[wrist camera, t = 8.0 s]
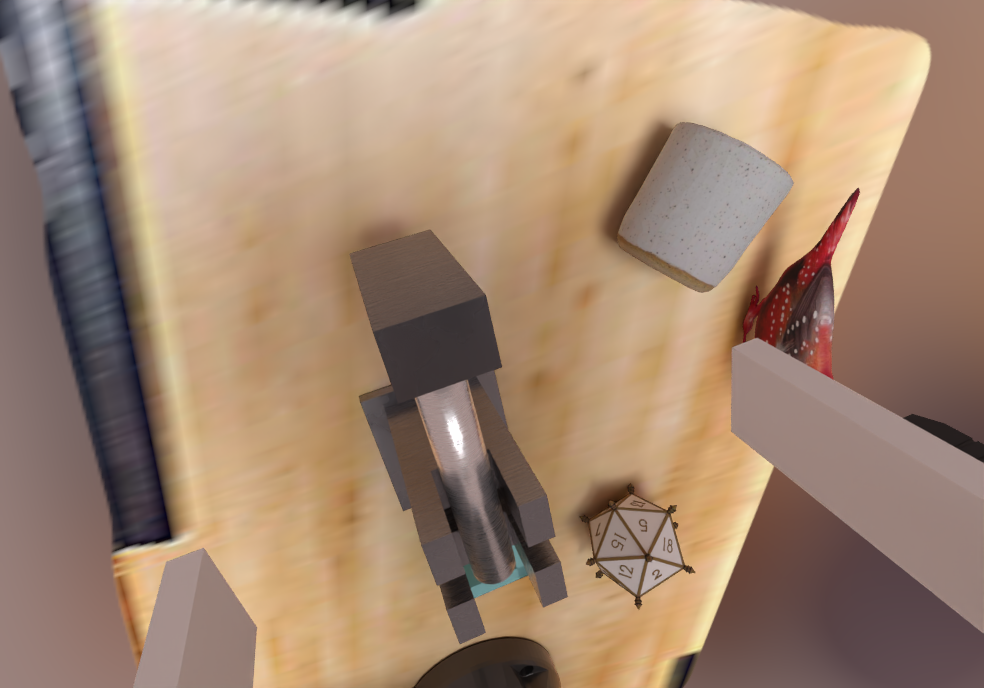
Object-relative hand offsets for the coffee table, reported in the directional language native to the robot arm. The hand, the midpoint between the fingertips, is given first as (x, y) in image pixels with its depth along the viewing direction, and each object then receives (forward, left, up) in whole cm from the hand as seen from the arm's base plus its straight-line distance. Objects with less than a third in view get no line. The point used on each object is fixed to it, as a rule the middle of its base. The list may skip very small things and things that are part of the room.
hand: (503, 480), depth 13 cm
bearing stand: (-15, 0, -22) cm, 26 cm away
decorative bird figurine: (-12, -26, -22) cm, 36 cm away
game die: (-29, -12, -22) cm, 39 cm away
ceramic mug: (-4, -20, -22) cm, 30 cm away
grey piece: (-8, 0, -16) cm, 18 cm away
